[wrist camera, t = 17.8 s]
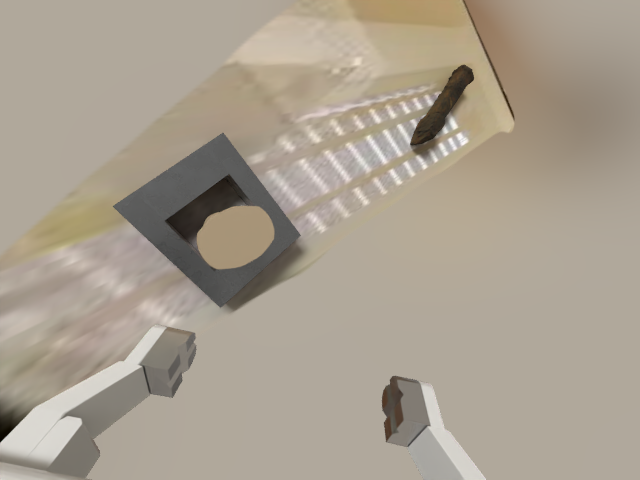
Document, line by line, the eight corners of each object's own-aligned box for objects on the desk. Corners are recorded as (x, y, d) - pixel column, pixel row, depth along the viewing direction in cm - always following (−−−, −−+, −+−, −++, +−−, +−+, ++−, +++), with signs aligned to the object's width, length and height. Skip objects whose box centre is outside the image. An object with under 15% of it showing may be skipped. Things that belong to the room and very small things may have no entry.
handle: (246, 230, 37) (282, 243, 24) (203, 252, 35) (216, 280, 22) (230, 199, 36) (259, 195, 22) (183, 220, 33) (185, 228, 20)
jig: (216, 297, 36) (220, 307, 33) (120, 206, 30) (112, 206, 27) (290, 232, 40) (300, 235, 37) (218, 140, 34) (223, 132, 31)
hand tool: (450, 70, 53) (472, 58, 49) (458, 87, 55) (481, 77, 50) (400, 134, 49) (420, 127, 45) (411, 150, 50) (431, 145, 46)
